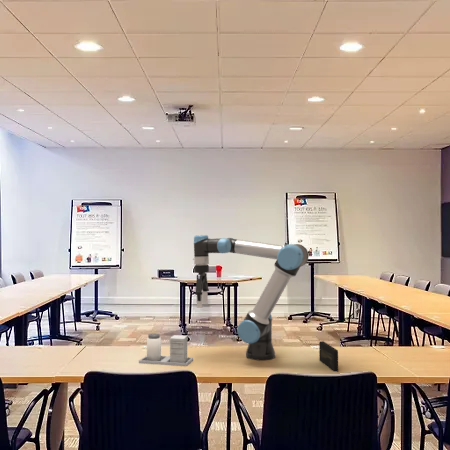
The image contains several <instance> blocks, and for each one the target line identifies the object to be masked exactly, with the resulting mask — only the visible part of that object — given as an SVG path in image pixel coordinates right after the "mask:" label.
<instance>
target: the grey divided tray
mask: <svg viewBox="0 0 450 450" xmlns="http://www.w3.org/2000/svg"><path fill="white" fill-rule="evenodd" d="M193 361H194V357H188V356H187V362H186V363H177V362H170V355H161V361H147V355H145V356H144V357H142V358H140V359H139V360H138V364H144V365H145V364H147V365H159V366H161V365H164V366H176V367H178V366H180V367H188V366H189V365H190V364H191V363H192V362H193Z"/></svg>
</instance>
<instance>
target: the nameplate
mask: <svg viewBox="0 0 450 450" xmlns="http://www.w3.org/2000/svg"><path fill="white" fill-rule="evenodd" d="M318 343H319V347H318V348H319V351H318V353H319V357H318V358H319V359H318V360H319V362H320V363H322V364H323V365H325V366H326V367H327V368H329V370H331V371H333V372H338V371H339V351H338V349H336V348H335V347H334V346H332V345H330V344H328V343H327V342H325V340H324V341H323V340H321V341H319V342H318Z"/></svg>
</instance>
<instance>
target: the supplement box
mask: <svg viewBox="0 0 450 450" xmlns="http://www.w3.org/2000/svg"><path fill="white" fill-rule="evenodd" d="M169 354H170V355H169V356H170V362H177V363H186V362H187V357H188V335H181V334H179V335H177V334H176V335H175V334H174V335H171V337H170V339H169Z"/></svg>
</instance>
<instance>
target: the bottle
mask: <svg viewBox="0 0 450 450" xmlns="http://www.w3.org/2000/svg"><path fill="white" fill-rule="evenodd" d="M160 335H161V334H160V333H149V334H148V336H147V337H146V356H147V361H161V356H162V337H161V336H160Z"/></svg>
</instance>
